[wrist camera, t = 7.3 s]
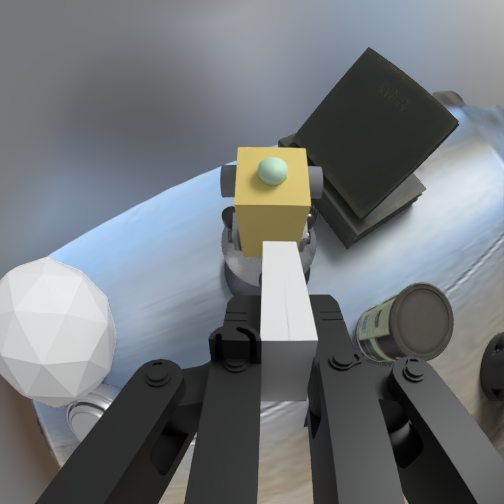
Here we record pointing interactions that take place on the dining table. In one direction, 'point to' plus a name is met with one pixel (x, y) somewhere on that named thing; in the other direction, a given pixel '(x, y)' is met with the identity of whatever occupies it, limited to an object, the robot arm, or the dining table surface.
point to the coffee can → (407, 325)
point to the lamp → (57, 340)
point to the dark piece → (371, 145)
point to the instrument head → (271, 194)
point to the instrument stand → (250, 268)
